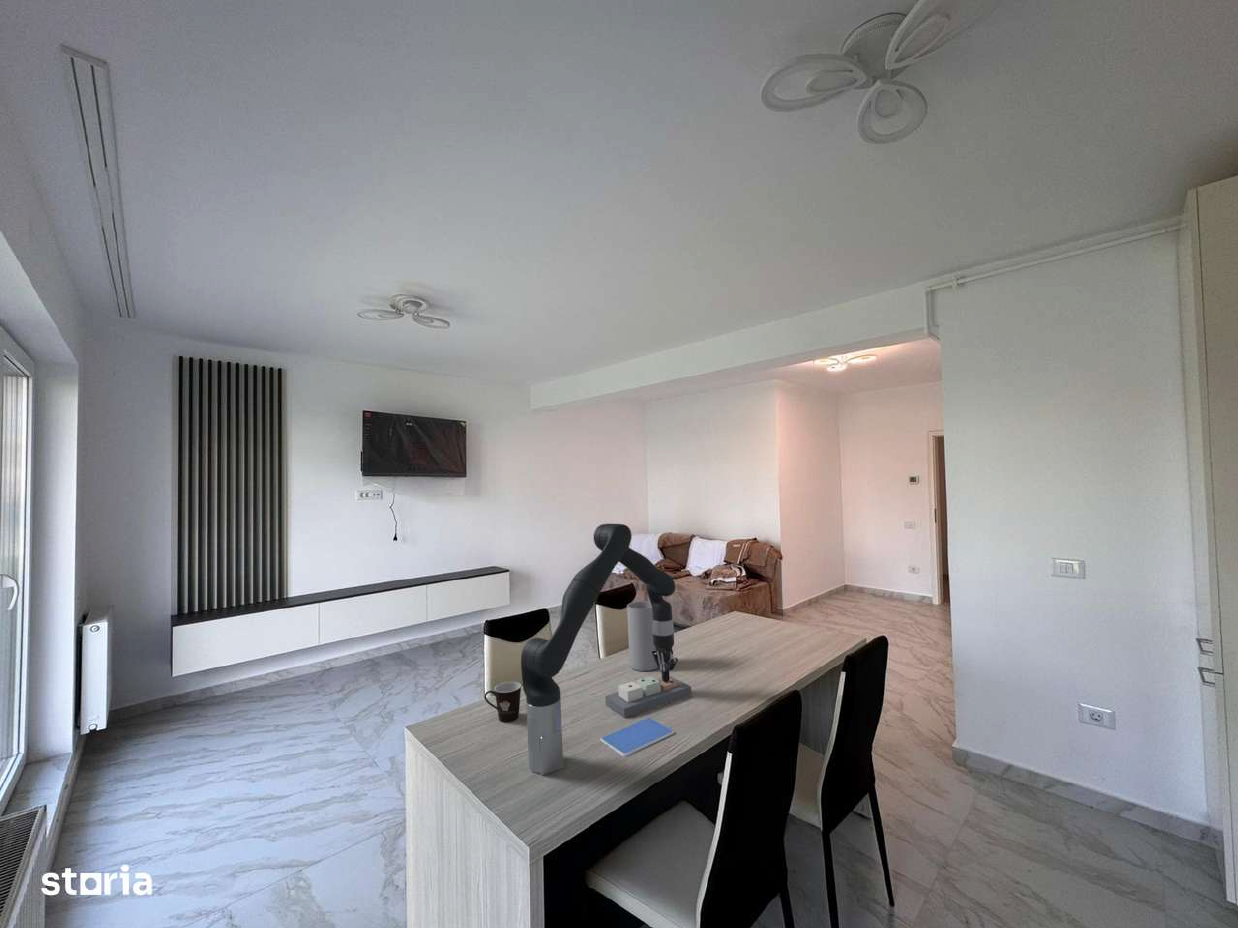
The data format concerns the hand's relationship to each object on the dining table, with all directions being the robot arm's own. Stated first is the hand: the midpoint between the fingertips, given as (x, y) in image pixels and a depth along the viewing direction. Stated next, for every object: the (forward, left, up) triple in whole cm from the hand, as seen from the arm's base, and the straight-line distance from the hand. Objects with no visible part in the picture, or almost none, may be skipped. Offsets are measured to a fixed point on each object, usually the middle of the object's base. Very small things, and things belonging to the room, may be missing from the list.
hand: (665, 680), depth 172 cm
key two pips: (0, +8, -2) cm, 8 cm away
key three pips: (0, 0, -4) cm, 4 cm away
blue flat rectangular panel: (-18, +25, -5) cm, 31 cm away
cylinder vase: (+27, -9, -5) cm, 29 cm away
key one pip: (0, +15, -2) cm, 15 cm away
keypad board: (0, +8, -5) cm, 9 cm away
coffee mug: (+19, +53, -5) cm, 56 cm away
